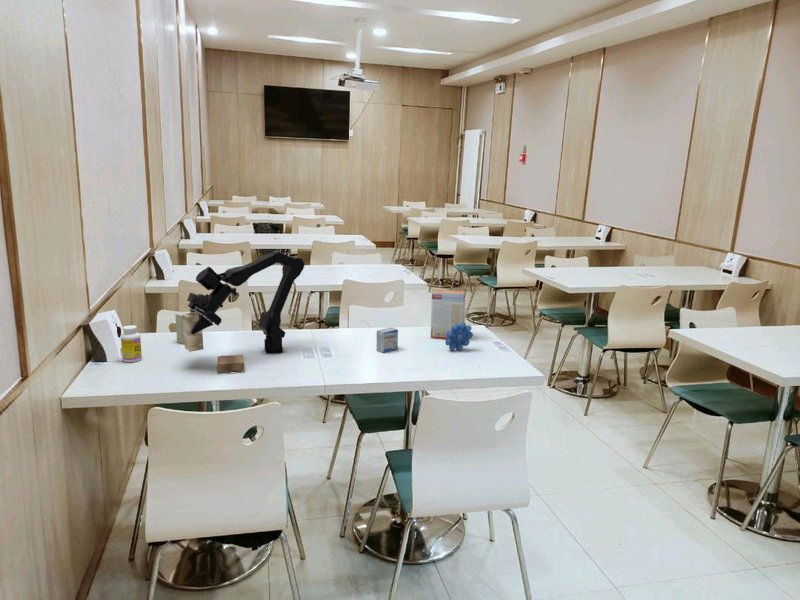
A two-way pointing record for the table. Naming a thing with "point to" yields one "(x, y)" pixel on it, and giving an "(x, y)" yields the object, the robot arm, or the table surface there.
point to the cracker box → (446, 311)
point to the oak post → (191, 340)
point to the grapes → (459, 336)
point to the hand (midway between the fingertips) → (189, 331)
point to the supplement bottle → (131, 344)
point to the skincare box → (180, 327)
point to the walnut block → (230, 363)
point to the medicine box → (387, 340)
